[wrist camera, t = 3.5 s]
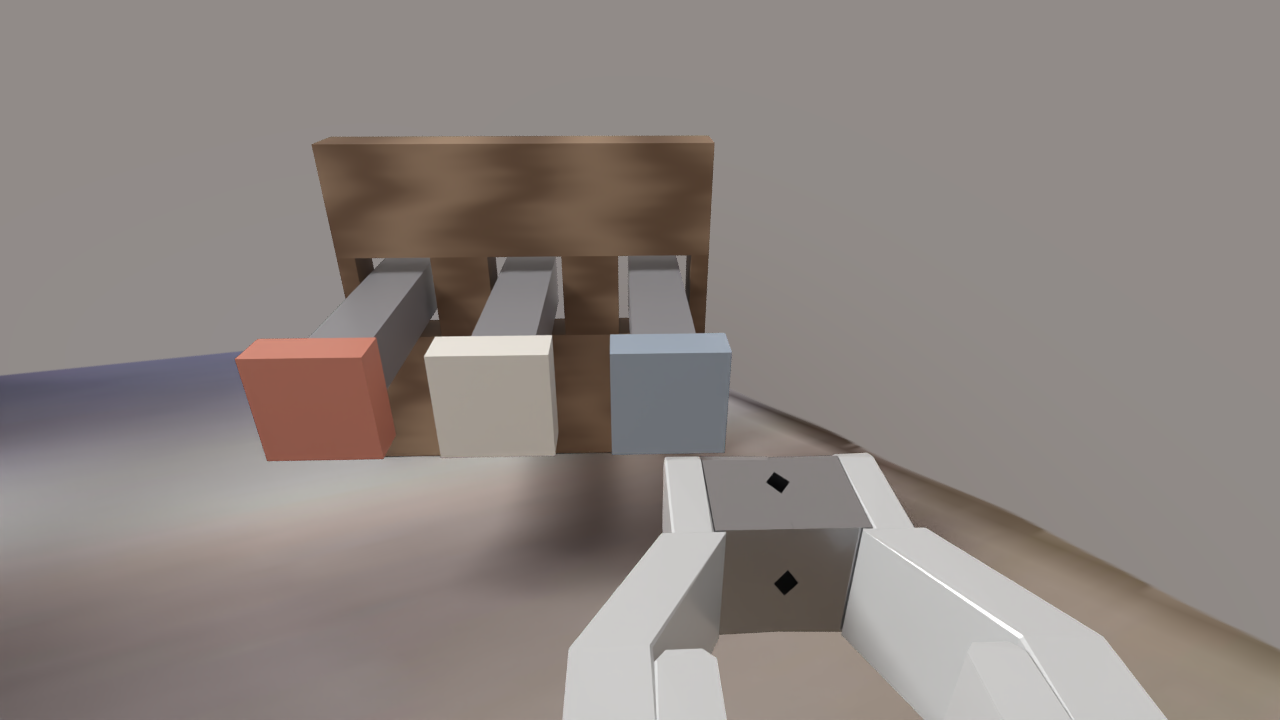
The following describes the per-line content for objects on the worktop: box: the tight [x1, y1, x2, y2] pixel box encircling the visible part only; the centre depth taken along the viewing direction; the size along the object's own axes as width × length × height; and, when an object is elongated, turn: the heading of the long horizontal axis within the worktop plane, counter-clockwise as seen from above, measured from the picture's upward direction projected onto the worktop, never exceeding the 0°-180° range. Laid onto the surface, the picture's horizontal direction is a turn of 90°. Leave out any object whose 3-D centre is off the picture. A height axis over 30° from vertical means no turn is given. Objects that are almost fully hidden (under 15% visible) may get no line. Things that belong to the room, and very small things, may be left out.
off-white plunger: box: [424, 257, 559, 458], centre depth 28 cm, size 4×12×4 cm, turn 2°
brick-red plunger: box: [235, 258, 437, 461], centre depth 28 cm, size 4×12×4 cm, turn 2°
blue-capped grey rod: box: [610, 255, 732, 455], centre depth 28 cm, size 4×12×4 cm, turn 2°
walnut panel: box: [312, 136, 714, 456], centre depth 32 cm, size 17×2×16 cm, turn 92°
